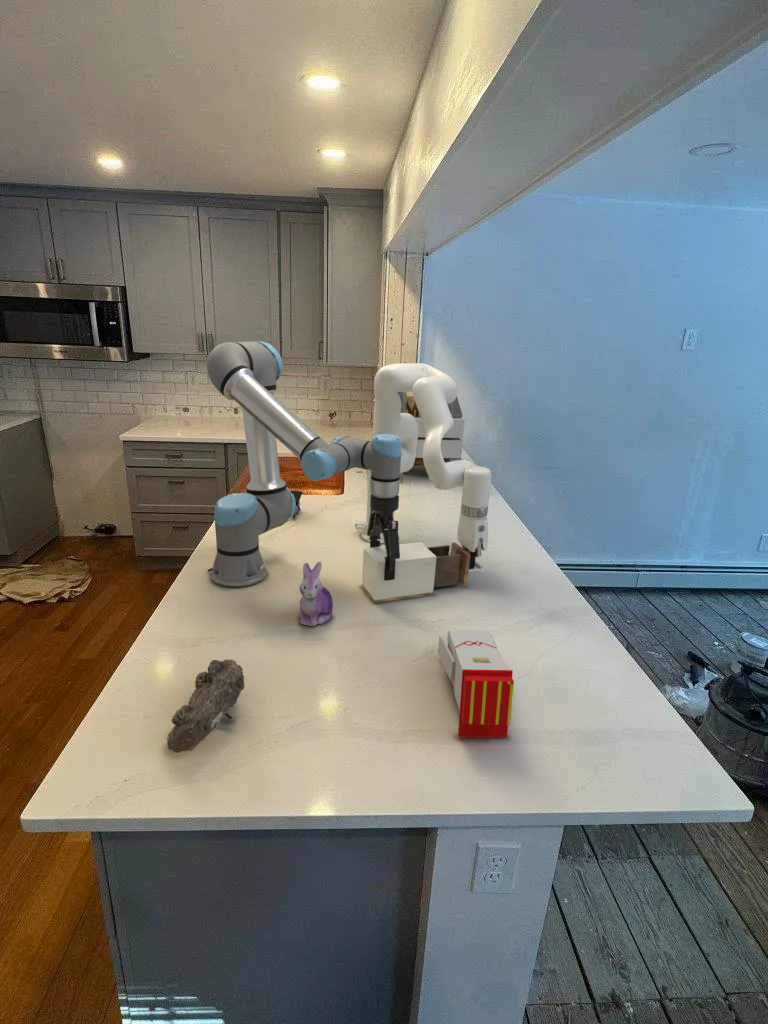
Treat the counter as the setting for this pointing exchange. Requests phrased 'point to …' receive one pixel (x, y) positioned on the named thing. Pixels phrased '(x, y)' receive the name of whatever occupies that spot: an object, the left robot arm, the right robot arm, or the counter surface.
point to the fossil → (206, 705)
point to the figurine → (314, 598)
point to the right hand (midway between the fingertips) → (468, 568)
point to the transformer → (450, 440)
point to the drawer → (452, 565)
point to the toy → (478, 682)
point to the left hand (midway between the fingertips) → (381, 570)
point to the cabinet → (399, 573)
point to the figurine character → (297, 501)
